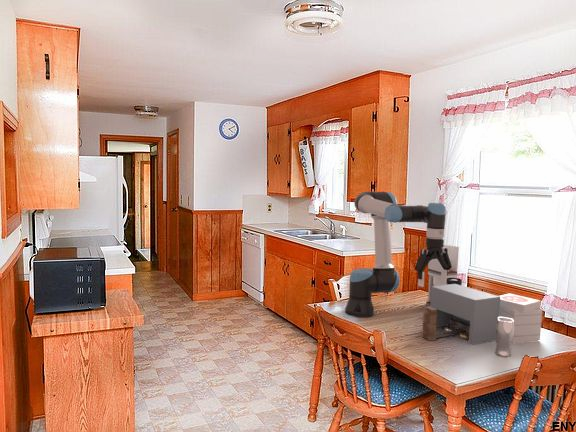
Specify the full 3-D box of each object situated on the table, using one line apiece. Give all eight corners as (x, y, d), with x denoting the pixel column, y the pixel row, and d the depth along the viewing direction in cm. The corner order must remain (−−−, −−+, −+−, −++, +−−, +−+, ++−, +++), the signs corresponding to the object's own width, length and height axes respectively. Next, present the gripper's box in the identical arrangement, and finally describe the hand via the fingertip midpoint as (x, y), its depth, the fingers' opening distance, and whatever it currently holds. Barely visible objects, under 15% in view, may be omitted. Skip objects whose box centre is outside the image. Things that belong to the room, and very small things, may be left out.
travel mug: (457, 314, 245) (459, 277, 244) (461, 319, 238) (463, 281, 236) (442, 313, 246) (445, 277, 244) (446, 318, 239) (448, 280, 237)
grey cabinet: (429, 326, 224) (431, 286, 222) (452, 322, 231) (455, 283, 229) (472, 344, 201) (475, 300, 199) (497, 339, 208) (500, 296, 206)
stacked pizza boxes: (499, 322, 235) (502, 287, 233) (546, 343, 206) (550, 303, 205) (467, 324, 230) (470, 288, 228) (511, 345, 201) (514, 305, 200)
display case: (426, 304, 263) (429, 244, 260) (440, 303, 267) (443, 243, 264) (440, 310, 252) (444, 247, 249) (454, 308, 257) (458, 246, 254)
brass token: (456, 336, 212) (456, 333, 212) (464, 335, 214) (464, 331, 214) (465, 340, 207) (465, 336, 207) (473, 338, 210) (473, 335, 210)
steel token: (442, 330, 220) (442, 327, 220) (449, 329, 222) (449, 325, 222) (450, 333, 215) (450, 330, 215) (457, 332, 218) (457, 329, 218)
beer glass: (490, 351, 194) (492, 316, 193) (506, 351, 195) (508, 316, 193) (499, 357, 187) (502, 322, 186) (515, 357, 188) (518, 322, 186)
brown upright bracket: (412, 332, 214) (413, 303, 212) (451, 326, 225) (453, 297, 224) (441, 346, 198) (443, 314, 197) (481, 338, 209) (483, 307, 208)
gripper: (420, 240, 193) (417, 289, 195) (461, 238, 205) (458, 284, 207) (407, 237, 200) (405, 285, 202) (448, 235, 212) (446, 281, 214)
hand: (432, 285), depth 204 cm, fingers open, 13 cm apart
